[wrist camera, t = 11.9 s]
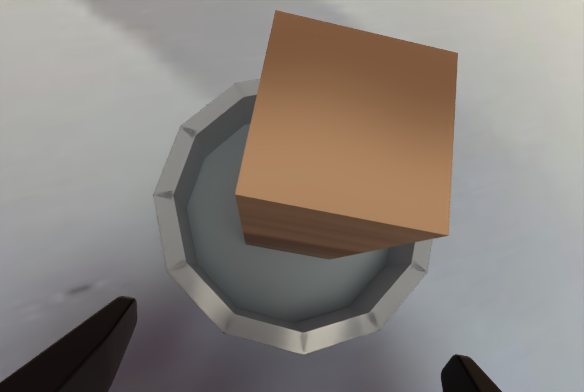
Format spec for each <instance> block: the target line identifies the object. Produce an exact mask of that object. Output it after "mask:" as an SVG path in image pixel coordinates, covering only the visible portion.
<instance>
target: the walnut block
mask: <svg viewBox="0 0 584 392" xmlns="http://www.w3.org/2000/svg"><path fill="white" fill-rule="evenodd" d="M457 59H458V53H455V52H451V51H447V50H443V49H438V48H434V47H430V46H425V45H421V44H417V43H413V42H408V41H404V40H400V39H396V38H391V37H387V36H383V35H379V34H374V33H370V32H366V31H362V30H357V29H353V28H349V27H345V26H340V25H336V24H332V23H328V22H323V21H319V20H315V19H311V18H306V17H302V16H298V15H294V14H289V13H285V12H281V11H275V15H274V20H273V24H272V29H271V33H270V38H269V42H268V47H267V51H266V56H265V61H264V65H263V70H262V74H261V79H260V83H259V88H258V92H257V97H256V101H255V106H254V110H253V115H252V119H251V124H250V128H249V133H248V137H247V142H246V147H245V151H244V156H243V160H242V165H241V169H240V174H239V178H238V183H237V187H236V192H235V197H236V202H237V206H238V211H239V216H240V220H241V225H242V230H243V234H244V239H245V244H246V245H252V246H257V247H263V248H268V249H274V250H279V251H285V252H290V253H296V254H301V255H307V256H312V257H318V258H323V259H329V260H331V259H335V258H340V257H345V256H350V255H355V254H360V253H365V252H370V251H375V250H380V249H385V248H390V247H395V246H399V245H404V244H409V243H414V242H419V241H424V240H429V239H434V238H439V237H444V236H449V218H450V198H451V178H452V159H453V139H454V119H455V99H456V79H457Z"/></svg>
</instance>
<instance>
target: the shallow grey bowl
mask: <svg viewBox="0 0 584 392" xmlns="http://www.w3.org/2000/svg"><path fill="white" fill-rule="evenodd" d="M259 83H260V79H256V80H250V81H244V82H238V83H235V84H233V85H232V86H231V87H230V88H228V89H227V90H226V91H224V92H223V93H222V94H221V95H219V96H218V97H217V98H215V99H214V100H213V101H212V102H210V103H209V104H208V105H207V106H205V107H204V108H203V109H201V110H200V111H199V112H198V113H196V114H195V115H194V116H192V117H191V118H190V119H189V120H187V121H186V122H185V123H184V124H182V125H181V126H180V128H179V131H178V133H177V136H176V138H175V141H174V143H173V146H172V148H171V151H170V153H169V156H168V159H167V161H166V164H165V166H164V169H163V171H162V174H161V176H160V179H159V181H158V184H157V187H156V189H155V192H154V194H153V196H154V201H155V207H156V212H157V217H158V223H159V228H160V234H161V239H162V245H163V250H164V256H165V261H166V267H167V272H168V273H169V274H170V275H171V277H172V278H173V279H174V280H175V281H176V282H177V283H178V284H179V285H180V286H181V287H182V289H183V290H184V291H185V292H186V293H187V294H188V295H189V296H190V297H191V298H192V299H193V300H194V302H195V303H196V304H197V305H198V306H199V307H200V308H201V309H202V310H203V311H204V312H205V314H206V315H207V316H208V317H209V318H210V319H211V320H212V321H213V322H214V323H215V324H216V326H217V327H218V328H219V329H220V330H221V331H222V332H223V333H225V334H229V335H232V336H236V337H240V338H244V339H247V340H251V341H255V342H258V343H262V344H266V345H270V346H273V347H277V348H281V349H285V350H288V351H292V352H296V353H300V354H303V355H304V354H307V353H310V352H313V351H317V350H320V349H323V348H326V347H329V346H332V345H335V344H338V343H342V342H345V341H348V340H351V339H354V338H357V337H360V336H363V335H367V334H370V333H373V332H376V331H379V330H380V329H381V328H382V327H383V326H384V324H385V323H386V322H387V321H388V320H389V318H390V317H391V316H392V315H393V314H394V312H395V311H396V310H397V309H398V308H399V306H400V305H401V304H402V303H403V302H404V300H405V299H406V298H407V297H408V296H409V294H410V293H411V292H412V291H413V290H414V288H415V287H416V286H417V285H418V284H419V282H420V281H421V280H422V279H423V278H424V276H425V275H426V274H427V272H428V265H429V259H430V252H431V246H432V240H433V239H429V240H424V241H419V242H414V243H409V244H404V245H399V246H395V247H390V248H385V249H380V250H375V251H370V252H365V253H360V254H355V255H350V256H345V257H340V258H335V259H331V260H329V259H323V258H318V257H312V256H307V255H301V254H296V253H290V252H285V251H279V250H274V249H268V248H263V247H257V246H252V245H246V244H245V239H244V234H243V230H242V225H241V220H240V216H239V211H238V206H237V202H236V197H235V192H236V187H237V183H238V178H239V174H240V169H241V165H242V160H243V156H244V151H245V147H246V142H247V137H248V133H249V128H250V124H251V119H252V115H253V110H254V106H255V101H256V97H257V92H258V88H259Z"/></svg>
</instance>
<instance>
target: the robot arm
mask: <svg viewBox="0 0 584 392" xmlns="http://www.w3.org/2000/svg"><path fill="white" fill-rule="evenodd" d="M136 322H137V302H136V299H135V298H131V297H125V296H120V297H118V298H116V299H115V300H113V301H112V302H111V303H109V304H108V305H106V306H105V307H104V308H102V309H101V310H100V311H98V312H97V313H95V314H94V315H93V316H91V317H90V318H89V319H87V320H86V321H84V322H83V323H82V324H80V325H79V326H78V327H76V328H75V329H73V330H72V331H71V332H69V333H68V334H66V335H65V336H64V337H62V338H61V339H60V340H58V341H57V342H55V343H54V344H53V345H51V346H50V347H49V348H47V349H46V350H44V351H43V352H42V353H40V354H39V355H38V356H36V357H35V358H33V359H32V360H31V361H29V362H28V363H27V364H25V365H24V366H22V367H21V368H20V369H18V370H17V371H16V372H14V373H13V374H11V375H10V376H9V377H7V378H6V379H5V380H3V381H2V382H0V392H108V390H109V388H110V386H111V384H112V382H113V380H114V377H115V375H116V373H117V370H118V368H119V365H120V363H121V360H122V358H123V356H124V353H125V351H126V348H127V346H128V343H129V341H130V338H131V336H132V334H133V331H134V329H135V326H136ZM441 382H442V388H443V392H502V391H501V390H500V389H499V388H498V387H497V386H496V385H495V383H494V382H493V381H492V380H491V379H490V378H489V377H488V376H487V375H486V374H485V373H484V372H483V370H482V369H481V368H480V367H479V366H478V365H477V364H476V363H475V362H474V361H473V360H472V359H471V358H470V357H468V356H463V355H458V354H455V355H453V356H452V357H451V359H450V360H449V361H448V363H447V364H446V365H445V367H444V368H443V370H442V372H441Z"/></svg>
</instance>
